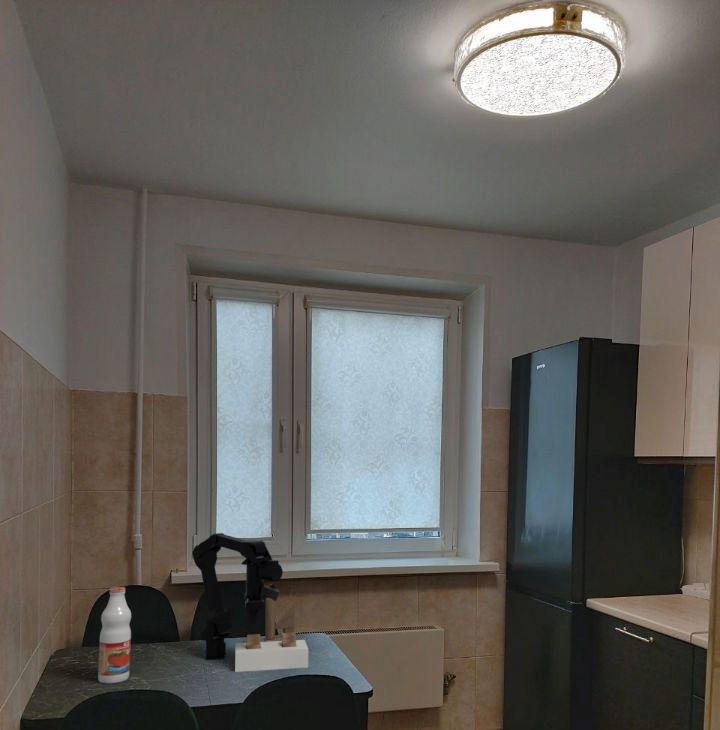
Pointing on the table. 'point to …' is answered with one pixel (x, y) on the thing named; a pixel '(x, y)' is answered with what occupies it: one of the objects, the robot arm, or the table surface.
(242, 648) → the white peg base
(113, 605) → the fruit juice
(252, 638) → the left peg
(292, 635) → the right peg
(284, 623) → the wooden block
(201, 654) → the table surface
